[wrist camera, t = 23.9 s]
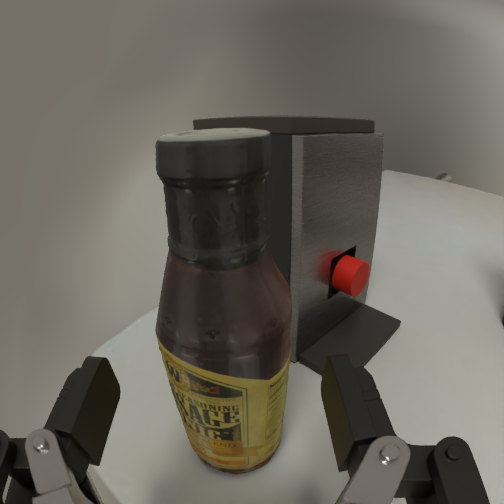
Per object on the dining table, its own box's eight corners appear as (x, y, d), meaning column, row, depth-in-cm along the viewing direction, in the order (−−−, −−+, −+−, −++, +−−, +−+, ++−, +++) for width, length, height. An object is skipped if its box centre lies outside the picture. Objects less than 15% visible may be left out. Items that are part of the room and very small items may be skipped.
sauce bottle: (176, 440, 19) (91, 145, 10) (237, 397, 23) (212, 125, 14) (239, 498, 15) (178, 141, 6) (302, 441, 19) (329, 127, 10)
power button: (367, 288, 27) (372, 257, 26) (348, 302, 25) (353, 269, 24) (349, 280, 28) (353, 250, 27) (330, 294, 27) (333, 261, 25)
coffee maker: (401, 324, 30) (434, 128, 21) (338, 391, 23) (375, 121, 14) (282, 269, 42) (282, 115, 34) (209, 304, 35) (192, 120, 26)
